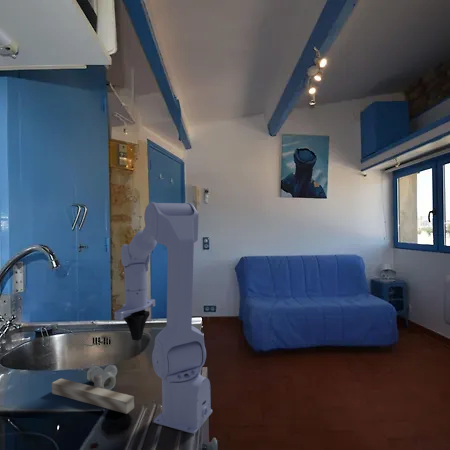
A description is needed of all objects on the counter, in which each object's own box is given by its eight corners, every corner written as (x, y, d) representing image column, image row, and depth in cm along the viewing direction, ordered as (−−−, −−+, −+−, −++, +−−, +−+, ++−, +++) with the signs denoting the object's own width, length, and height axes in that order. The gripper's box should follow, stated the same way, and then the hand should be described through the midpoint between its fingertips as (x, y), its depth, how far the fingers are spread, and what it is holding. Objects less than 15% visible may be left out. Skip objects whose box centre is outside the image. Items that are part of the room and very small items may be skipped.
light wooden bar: (139, 403, 73) (139, 383, 73) (126, 413, 69) (126, 392, 69) (67, 385, 82) (66, 367, 82) (52, 393, 78) (51, 374, 78)
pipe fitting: (111, 375, 88) (86, 382, 83) (112, 360, 88) (87, 367, 83) (127, 385, 82) (102, 393, 77) (128, 369, 83) (102, 376, 78)
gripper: (140, 283, 97) (141, 329, 97) (104, 293, 84) (105, 346, 84) (160, 284, 94) (161, 332, 94) (126, 295, 81) (128, 350, 81)
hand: (136, 339), depth 89 cm, fingers closed
